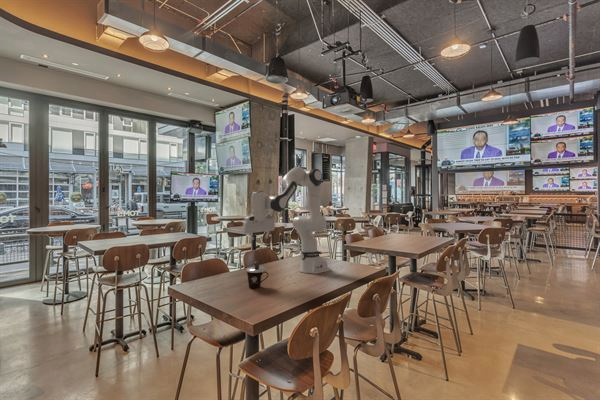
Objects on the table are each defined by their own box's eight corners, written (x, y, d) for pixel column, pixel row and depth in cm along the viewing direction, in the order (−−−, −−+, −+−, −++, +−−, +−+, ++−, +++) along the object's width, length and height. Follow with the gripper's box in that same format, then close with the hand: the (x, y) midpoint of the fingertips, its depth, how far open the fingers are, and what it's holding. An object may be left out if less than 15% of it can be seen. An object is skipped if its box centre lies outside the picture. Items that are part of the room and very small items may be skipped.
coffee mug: (244, 288, 172) (244, 271, 171) (251, 284, 180) (251, 267, 180) (262, 290, 168) (262, 272, 168) (269, 286, 176) (269, 269, 176)
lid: (262, 266, 182) (262, 259, 182) (270, 271, 171) (270, 262, 171) (243, 269, 176) (243, 261, 176) (250, 273, 165) (250, 265, 165)
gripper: (272, 215, 193) (272, 236, 193) (241, 217, 182) (242, 240, 183) (276, 216, 187) (276, 238, 188) (245, 218, 177) (245, 241, 178)
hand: (259, 239), depth 185 cm, fingers open, 8 cm apart
